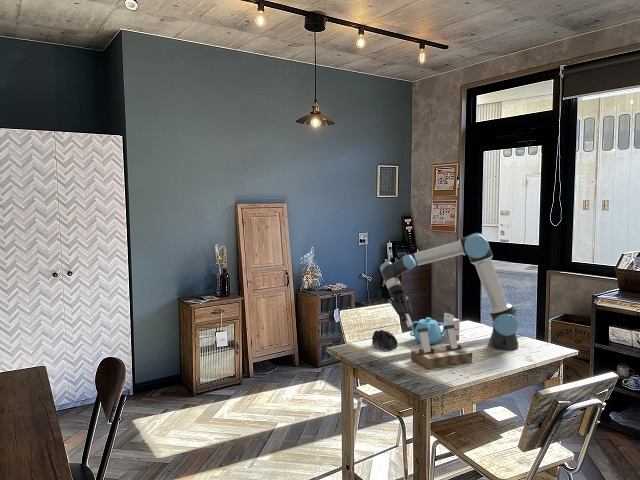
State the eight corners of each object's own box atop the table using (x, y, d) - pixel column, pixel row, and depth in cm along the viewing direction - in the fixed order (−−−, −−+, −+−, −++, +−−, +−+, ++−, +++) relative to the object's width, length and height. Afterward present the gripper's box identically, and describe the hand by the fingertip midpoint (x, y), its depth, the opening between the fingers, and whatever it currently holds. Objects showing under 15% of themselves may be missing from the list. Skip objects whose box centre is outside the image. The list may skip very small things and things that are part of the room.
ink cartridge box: (459, 339, 275) (460, 314, 274) (452, 341, 273) (453, 315, 272) (449, 336, 283) (450, 311, 282) (442, 337, 281) (443, 312, 280)
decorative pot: (448, 343, 268) (449, 319, 267) (425, 347, 261) (426, 322, 260) (429, 336, 283) (430, 313, 282) (407, 339, 276) (407, 316, 275)
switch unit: (454, 354, 250) (454, 341, 249) (472, 362, 237) (472, 348, 236) (411, 360, 240) (411, 346, 240) (427, 369, 227) (427, 355, 227)
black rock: (402, 350, 258) (403, 332, 258) (380, 352, 252) (381, 332, 252) (388, 345, 270) (389, 328, 270) (367, 346, 264) (368, 328, 265)
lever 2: (456, 348, 244) (451, 325, 247) (458, 347, 242) (454, 324, 245) (448, 349, 242) (444, 326, 245) (451, 348, 240) (446, 325, 243)
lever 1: (429, 351, 238) (424, 328, 241) (431, 351, 236) (427, 327, 239) (421, 352, 236) (417, 329, 239) (423, 352, 234) (419, 328, 237)
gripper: (402, 291, 267) (418, 328, 253) (381, 292, 262) (396, 330, 248) (407, 283, 261) (424, 320, 247) (386, 284, 257) (402, 323, 243)
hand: (410, 325), depth 248 cm, fingers closed
